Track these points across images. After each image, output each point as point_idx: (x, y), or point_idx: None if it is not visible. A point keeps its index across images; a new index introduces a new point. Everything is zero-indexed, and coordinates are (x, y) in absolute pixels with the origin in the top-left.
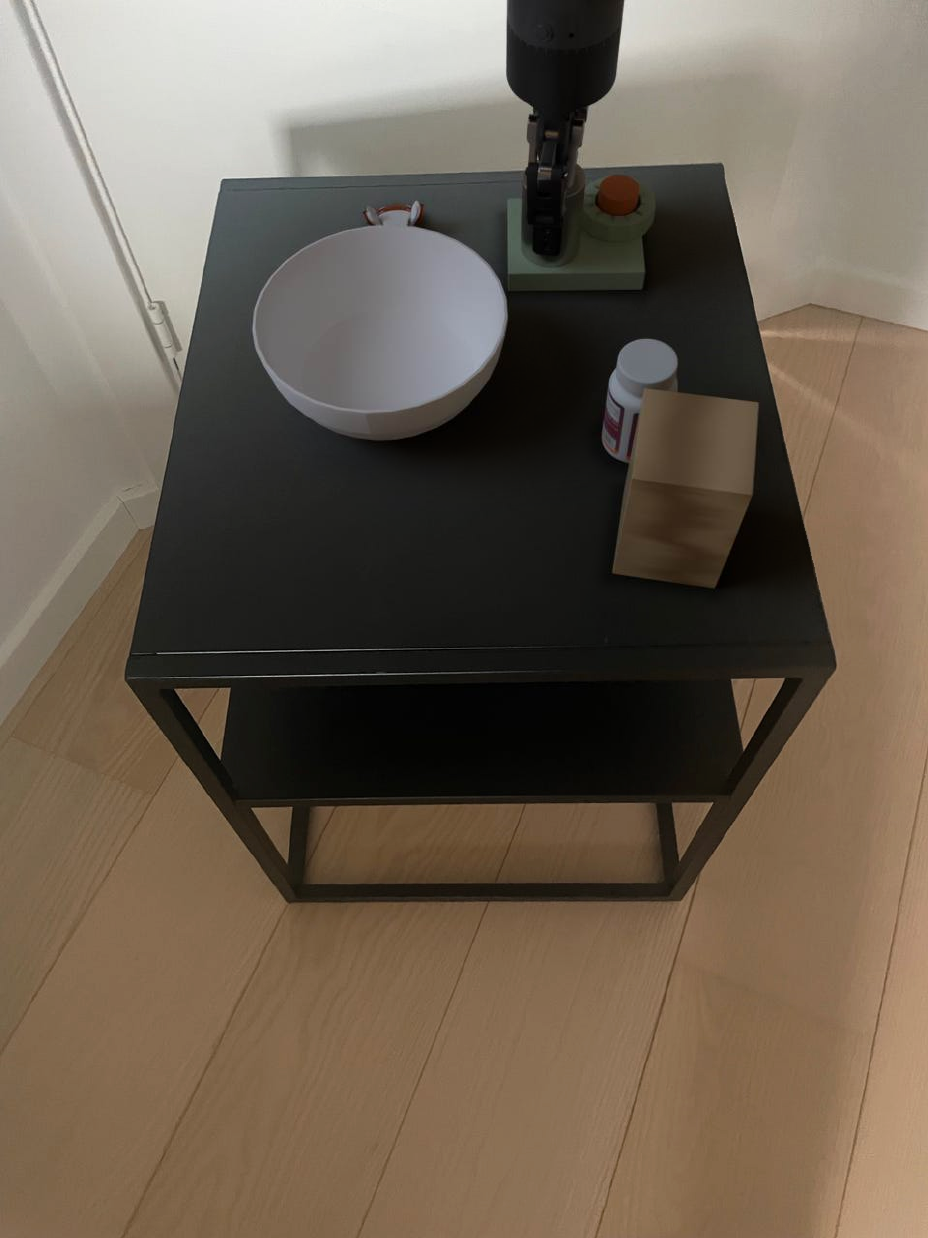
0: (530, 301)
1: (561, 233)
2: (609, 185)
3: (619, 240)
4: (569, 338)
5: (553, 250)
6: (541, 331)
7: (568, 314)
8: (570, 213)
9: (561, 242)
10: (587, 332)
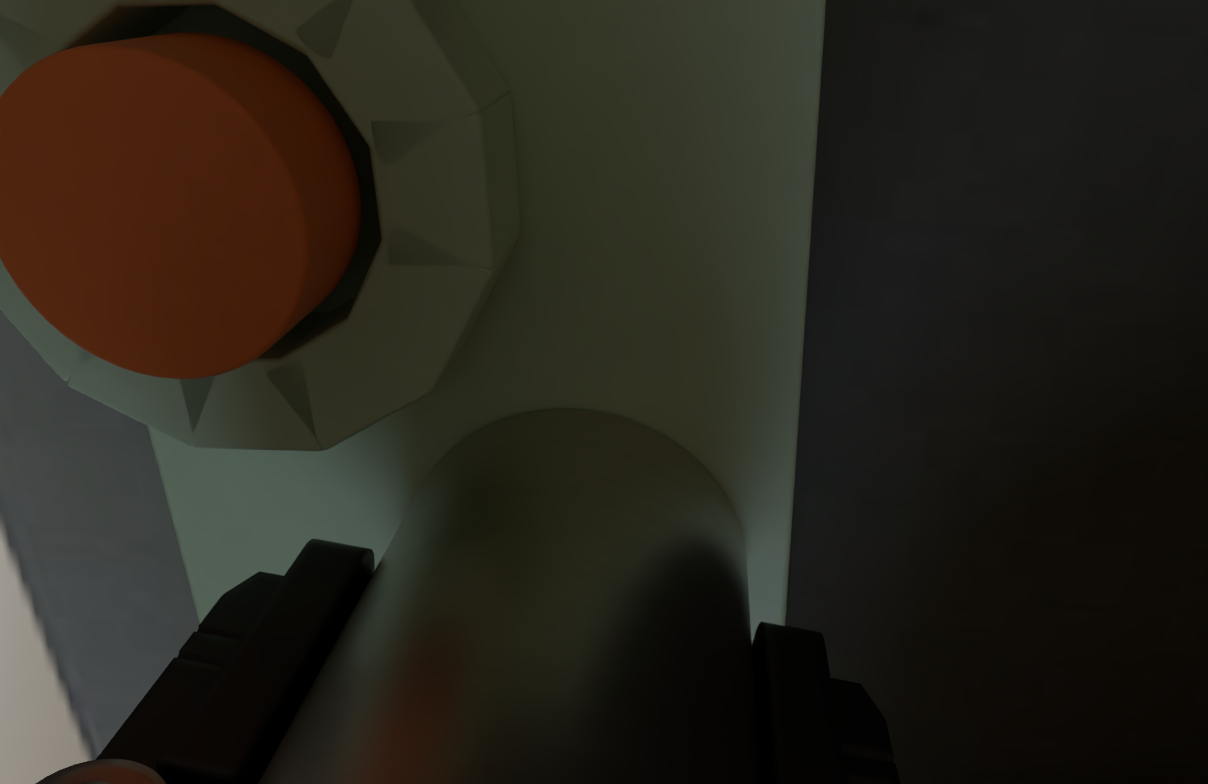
0: (843, 579)
1: (833, 751)
2: (139, 306)
3: (514, 156)
4: (1148, 418)
5: (882, 722)
6: (1064, 544)
7: (962, 414)
8: (731, 773)
9: (771, 651)
10: (1123, 323)
